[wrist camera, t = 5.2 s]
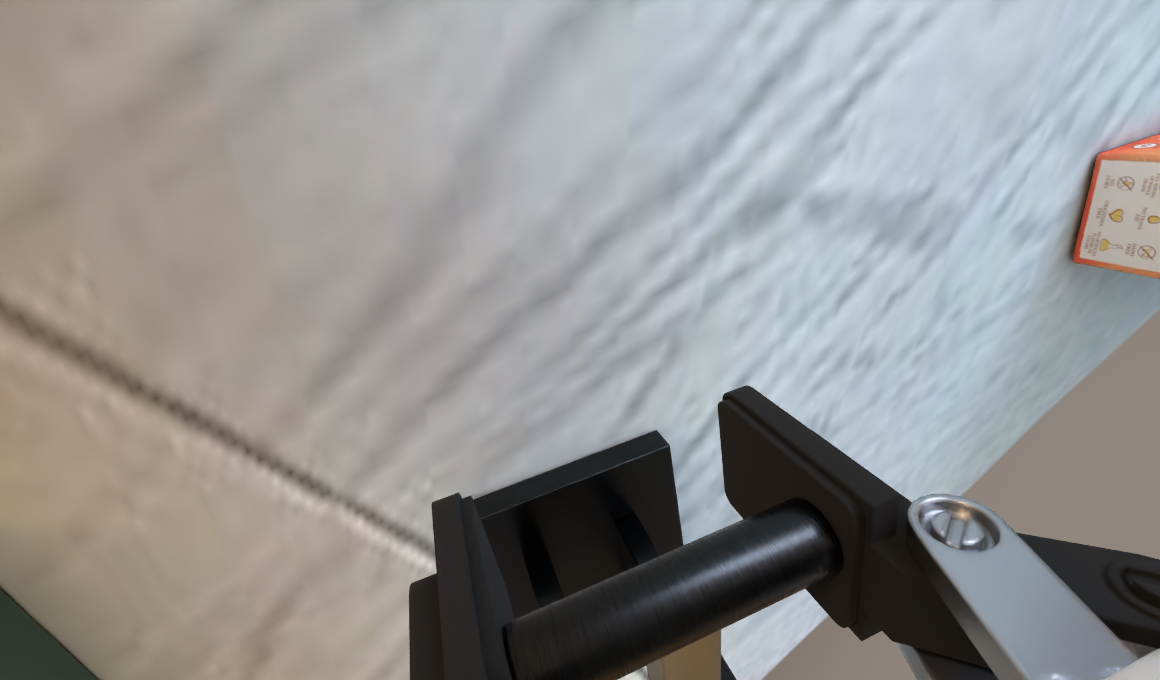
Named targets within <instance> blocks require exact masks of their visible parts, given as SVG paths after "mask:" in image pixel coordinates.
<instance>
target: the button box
mask: <svg viewBox="0 0 1160 680" xmlns="http://www.w3.org/2000/svg"><path fill="white" fill-rule="evenodd" d="M0 680H97V679H96V678H95V677H94V676H93V675H92V674H91V673H90V672H89V671H88V670H87V669H86V668H85V667H84V666H82V665H81V664H80V663H79V662H78V661H77V660H76V659H75V658H74V657H73V656H72V655H71V654H70V653H69V652H68V651H66V650H65V649H64V648H63V647H62V646H61V645H60V644H59V643H58V642H57V641H56V640H55V639H54V638H53V637H51V636H50V635H49V634H48V633H47V632H46V631H45V630H44V629H43V628H42V627H41V626H40V625H39V624H38V623H37V622H35V621H34V620H33V619H32V618H31V617H30V616H29V615H28V614H27V613H26V612H25V611H24V610H23V609H22V608H20V607H19V606H18V605H17V604H16V603H15V602H14V601H13V600H12V599H11V598H10V597H9V596H8V595H7V594H6V593H4V592H3V591H2V590H1V589H0Z"/></svg>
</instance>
